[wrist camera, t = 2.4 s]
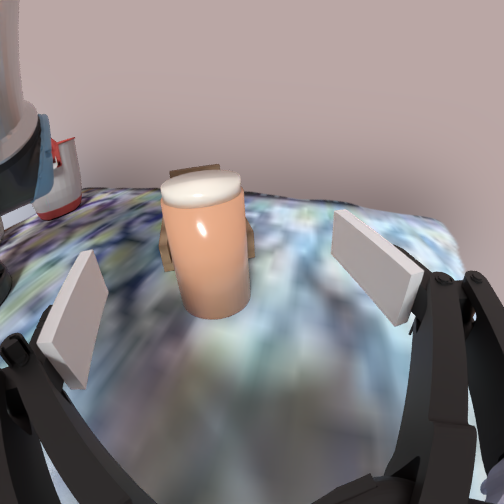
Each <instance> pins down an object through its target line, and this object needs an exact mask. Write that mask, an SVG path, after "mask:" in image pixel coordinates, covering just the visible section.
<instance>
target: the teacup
mask: <svg viewBox="0 0 504 504" xmlns="http://www.w3.org/2000/svg"><path fill="white" fill-rule="evenodd" d="M3 236H4V227H3V222H2V219H1V216H0V243H1V241H2V238H3Z"/></svg>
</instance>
